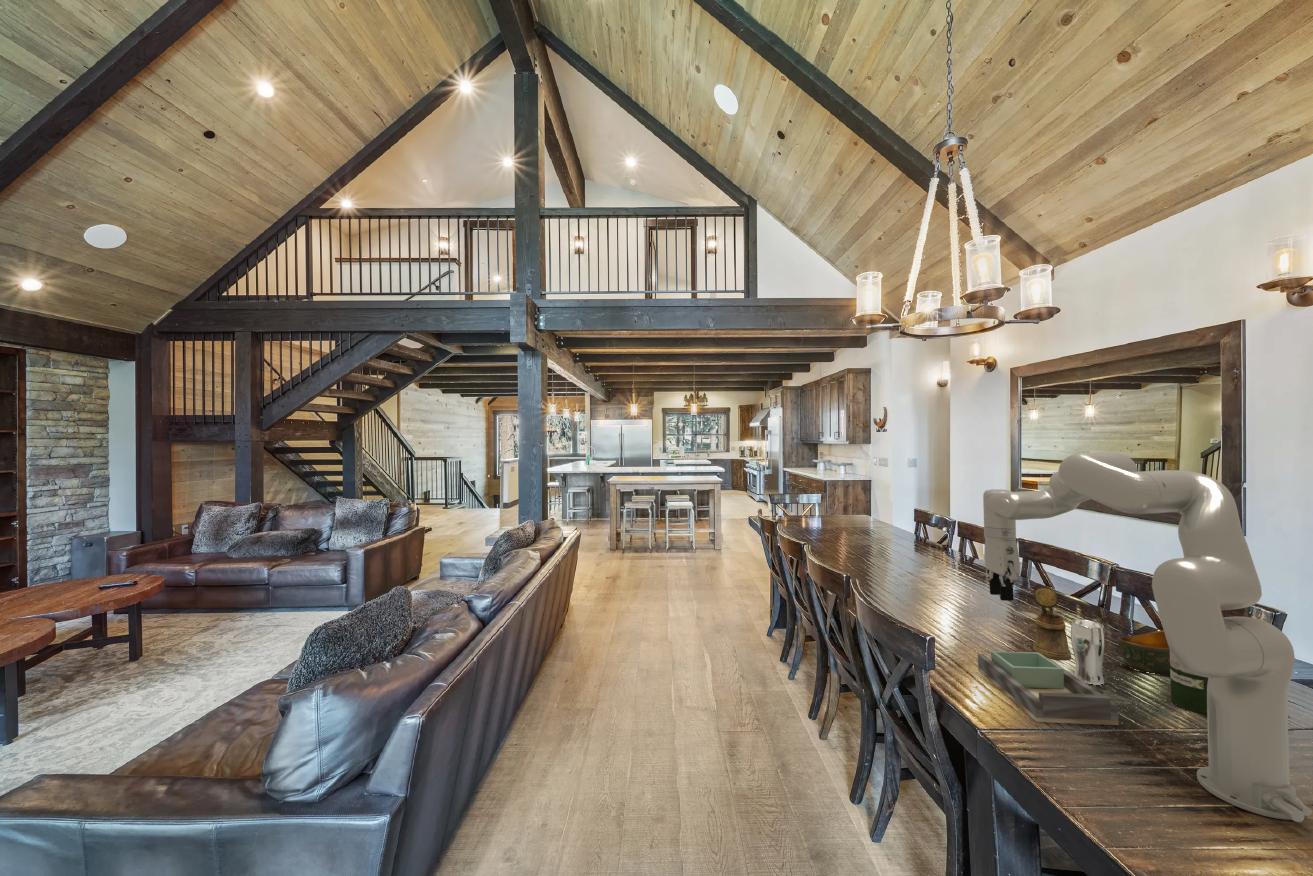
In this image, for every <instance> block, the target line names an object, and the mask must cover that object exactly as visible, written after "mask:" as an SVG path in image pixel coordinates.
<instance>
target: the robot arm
mask: <svg viewBox="0 0 1313 876" xmlns="http://www.w3.org/2000/svg"><path fill="white" fill-rule="evenodd" d="M1048 485H1049V487H1047V488H1045V489H1042V490H1030V491H1029V490H1027V491H1025V490H1024V491H1012V490H1009V489H994V488H992V489H987V490H984V492H983V495H982V497H983V499H982V501H983V502H982V503H983V537H984V566H985V569H987V573H988V579H989V594H990V595H993V596H999V599H1000V601H1002V602H1003V601H1004V602H1010V601H1011V602H1012V601H1014V588H1015V584H1016V583H1015V582H1016V581H1019V580H1018V579H1019V578H1018V577H1019V576H1020V575H1021V564H1020V563H1021V562H1020V554H1019V548H1018V543H1017V529H1016V528H1017V527H1016V526H1017V524H1016V523H1017V522H1016V521H1023V520H1026V521H1027V520H1039V519H1040V520H1041V519H1042V520H1043V519H1045V520H1046V519H1050V518H1054V517H1057V516H1060V515H1063V514H1067V513H1069V512H1071V511H1074V510H1075V509H1077V508H1078V507H1079V506H1080V504H1081V503H1083V502H1084V503H1085V502H1086V501H1089V500H1093V501H1095V502H1097V503H1099V504H1101V505H1104V506H1106V507H1108V508H1110V509H1113V510H1115V511H1118V512H1121V513H1126V514H1130V515H1143V514H1144V515H1147V514H1164V513H1178V514H1181V516H1180V520H1179V523H1178V528H1177V529H1178V530H1177V535H1178V539H1179V542H1180V545H1181V549H1182V553H1183V557H1179V558H1172V559H1169V560H1166V561H1164V562H1162V563H1160V564H1159V565H1158V566H1157V567H1156V568H1155V569H1154V572H1153V575H1152V580H1151V588H1152V592H1153V597H1154V601H1155V604H1156V608H1157V611H1158V615H1159V618H1160V622H1161V626H1162V629H1163V630H1164V633H1165V637H1166V640H1167V643H1168V645H1169V648H1170V650H1171V652H1172V654H1173V655H1174V657H1175V658H1176V659H1177V661H1178V662H1179V663H1180V664H1181V665H1182V666H1183V667H1185V668H1186V669H1187V670H1189V671H1190V672H1192V673H1194V674H1197V675H1199V676H1202V677H1207V678H1208V683H1207V714H1206V715H1207V716H1206V717H1207V718H1206V719H1207V750H1208V751H1207V752H1208V753H1207V755H1208V766H1203V767H1200V768H1198V770H1196V771H1197V772H1196V779H1197V781H1198V783H1199V784H1200V785H1201V787H1202V788H1204V789H1205V790H1206V791H1207V792H1209V793H1211V795H1214V796H1215V797H1216V798H1218V799H1221V800H1222V801H1224V802H1225V803H1228V804H1231V805H1233V806H1234V807H1236V808H1240V809H1242V810H1244V811H1247V812H1249V813H1250V812H1251V813H1254V814H1255V815H1260V816H1263V817H1268V818H1271V819H1280V820H1288V821H1294V822H1296V823H1302V822H1303V821H1304V820H1305V817H1310V816H1311V815H1312V814H1313V811H1312V809H1311V808H1310V807H1308V806H1307V805H1305V804H1304V803H1303V802H1302V801H1301V800H1300V798H1298V797H1297V789H1296V788H1295V787H1293V786H1292V785H1290V756H1289V755H1290V754H1289V752H1290V751H1289V747H1290V746H1289V690H1290V683H1291V678H1292V674H1293V672H1294V667H1295V659H1296V658H1295V650H1294V647H1293V645H1292V642H1291V641H1290V639H1289V638H1288V637H1287V635H1286V634H1285V633H1284V632H1283V631H1282V630H1280V629H1279V628H1278V627H1276V626H1275V625H1273V624H1271V623H1270V622H1267V621H1266V620H1265V621H1264V620H1262V619H1260V618H1254V617H1250V616H1249V617H1248V616H1236V615H1235V616H1225V617H1224V616H1223V611H1229V610H1238V609H1244V608H1249V607H1252V606H1254V605H1256V604H1257V603H1259V602H1260V600H1261V598H1262V595H1263V594H1262V585H1261V581H1260V579H1259V575H1258V573H1257V569H1256V566H1255V564H1254V561H1253V558H1252V554H1251V551H1250V548H1249V545H1248V543H1247V540H1246V538H1245V535H1244V531H1243V529H1242V525H1241V520H1240V516H1239V511H1238V506H1237V503H1236V500H1235V498H1234V496H1233V494H1232V492H1231V491H1230V490H1229V489H1228V487H1226V485H1224V484H1223V483H1222V482H1220V480H1218V479H1215V478H1214V477H1212V476H1209V475H1207V474H1204V473H1200V472H1197V471H1189V470H1178V469H1177V470H1176V469H1175V470H1174V469H1172V470H1171V469H1170V470H1169V469H1165V470H1163V469H1162V470H1148V471H1145V470H1144V471H1138V467H1137V465H1136V463H1135V461H1134V460H1133V459H1132V458H1130V457H1129V456H1128V455H1126V454H1123V453H1120V452H1115V451H1089V452H1078V453H1074V454H1070V455H1068V456H1067V457H1066V458H1064V459H1063V460H1062V461H1061V463H1060V465H1059V467H1058V471H1056V472H1054V473H1053V474H1052V475H1051V476H1050V478H1049V481H1048ZM1163 630H1162V631H1163Z"/></svg>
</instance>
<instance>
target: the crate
mask: <svg viewBox="0 0 1313 876" xmlns="http://www.w3.org/2000/svg"><path fill="white" fill-rule="evenodd" d="M990 652H991V653H990V655H991V657H990V658H991V659H990V660H991V661H993V662H994V663H995V664H996V665H998V666H999V667H1000V668H1001V669H1002V670H1004V671H1005V672H1006V673H1007V674H1009V675H1010V676H1011V677H1012V678H1014V679H1015V680H1016V681H1017V682H1019V683H1020V684H1021V685H1022V686H1023V687H1025V688H1052V689H1064V670H1063V669H1064V667H1062V668H1061V666H1060V665H1059V666H1058V664H1057V663H1056V664H1055V662H1054V661H1053V660H1051V659H1050V658H1046V657H1045V656H1043V655H1042V654H1040V653H1039V652H1034V651H1033V652H1032V651H999V650H998V651H995V650H994V651H990ZM1049 659H1050V660H1049ZM1052 661H1053V662H1052Z"/></svg>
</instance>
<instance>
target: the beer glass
mask: <svg viewBox="0 0 1313 876" xmlns="http://www.w3.org/2000/svg"><path fill="white" fill-rule="evenodd" d="M1070 625H1071V626H1070V628H1071V629H1070V640H1071V647H1072V651H1073V656H1074V663H1075V669H1074V674H1073V675H1074V676H1075V677H1077V678H1078V679H1080V680H1081V681H1083V682H1084V683H1087V685H1089V684H1093V685H1092V686H1096V685H1100V686H1102V685H1101V684H1103V685H1104V684H1105V680H1104V679H1105V678H1104V676H1103V669H1102V668H1103V662H1104V658H1105V653H1106V652H1105V651H1106V634H1105V626H1104V624H1101V623H1100V622H1097V621H1094V620H1089V619H1081V618H1080V619H1079V618H1077V619H1072V620H1071V624H1070Z"/></svg>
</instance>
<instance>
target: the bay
mask: <svg viewBox="0 0 1313 876" xmlns="http://www.w3.org/2000/svg"><path fill="white" fill-rule="evenodd" d="M1046 658H1047V657H1046ZM1048 659H1049V660H1051V658H1048ZM1051 661H1052V662H1054V661H1053V660H1051ZM1054 663H1055V662H1054ZM1055 664H1057V663H1055ZM1057 665H1058V664H1057ZM1058 666H1060V665H1058ZM977 667H978V669H977V670H978V672H980V673H981V674H982V675H983V676H984V677H985V678H986V677H987V678H986V679H988V680H989V681H990V682H991V683H992V684H993V685H994V684H995V685H994V686H995V687H996V688H998V690H1000V691H1001V692H1002V691H1003V692H1002V693H1003V694H1004V693H1005V694H1004V695H1006V697H1008V698H1009V697H1010V698H1011V699H1012V700H1011V699H1010V698H1009V699H1010V700H1011V701H1012V702H1013V701H1014V702H1013V703H1015V704H1016V705H1017V706H1018V707H1019V708H1020V709H1021V710H1022V711H1024V712H1025V713H1026V715H1028V716H1029V717H1031V719H1033V720H1034V721H1035V722H1036V723H1056V724H1057V723H1059V724H1076V725H1077V724H1082V725H1102V724H1103V726H1104V725H1105V726H1107V725H1108V726H1119V704H1117V703H1116V702H1114V701H1113V700H1111V697H1109V696H1108V695H1107V694H1102V693H1101V692H1100V691H1098V690H1096V689H1094V688H1093V687H1092V686H1091V685H1089V684H1086V683H1084V682H1083V681H1081V680H1080V679H1078V678H1077V677H1075V676H1074V674H1072V673H1071V672H1069V671H1068V670H1066V669H1064V668H1063V667H1061V666H1060V667H1061V668H1063V670H1064V689H1052V688H1025V687H1023V686H1022V685H1021V684H1020V683H1019V682H1017V681H1016V680H1015V679H1014V678H1012V677H1011V676H1010V675H1009V674H1007V673H1006V672H1005V671H1004V670H1002V669H1001V668H1000V667H999V666H998V665H996V664H995V663H994V662H993V661H991V659H990V658H989V657H988V656H986V654H984V653H978V654H977Z"/></svg>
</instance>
